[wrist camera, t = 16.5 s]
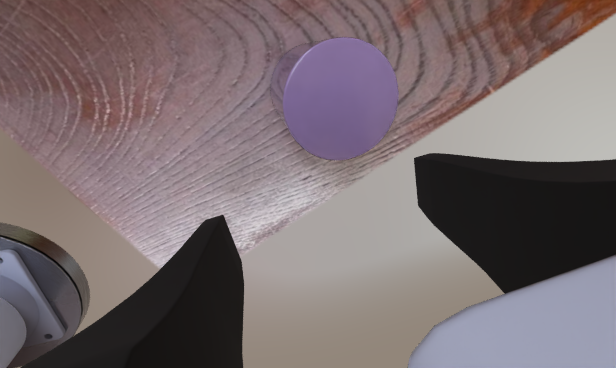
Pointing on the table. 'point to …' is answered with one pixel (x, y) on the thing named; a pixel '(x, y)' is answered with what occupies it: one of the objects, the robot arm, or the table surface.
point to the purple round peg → (335, 96)
